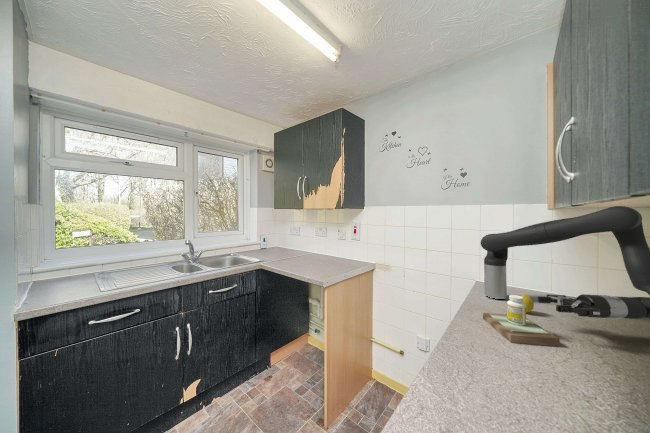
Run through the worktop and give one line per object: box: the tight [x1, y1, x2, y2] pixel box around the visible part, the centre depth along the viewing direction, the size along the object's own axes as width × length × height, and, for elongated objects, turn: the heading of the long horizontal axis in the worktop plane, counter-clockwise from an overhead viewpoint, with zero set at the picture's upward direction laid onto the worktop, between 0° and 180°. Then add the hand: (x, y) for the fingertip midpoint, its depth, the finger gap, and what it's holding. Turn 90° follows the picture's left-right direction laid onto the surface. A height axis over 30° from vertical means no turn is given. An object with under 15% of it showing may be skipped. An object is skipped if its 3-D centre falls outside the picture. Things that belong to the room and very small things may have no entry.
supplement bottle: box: [506, 294, 527, 326], centre depth 83 cm, size 5×5×10 cm
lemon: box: [520, 294, 535, 314], centre depth 98 cm, size 6×6×8 cm
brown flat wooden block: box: [482, 312, 560, 347], centre depth 83 cm, size 18×14×3 cm
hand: (547, 303), depth 81 cm, fingers open, 8 cm apart
